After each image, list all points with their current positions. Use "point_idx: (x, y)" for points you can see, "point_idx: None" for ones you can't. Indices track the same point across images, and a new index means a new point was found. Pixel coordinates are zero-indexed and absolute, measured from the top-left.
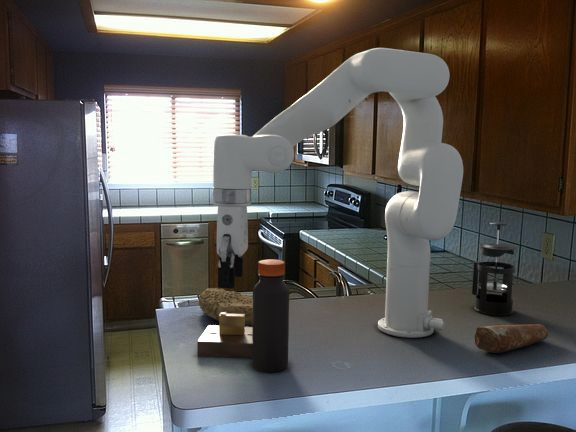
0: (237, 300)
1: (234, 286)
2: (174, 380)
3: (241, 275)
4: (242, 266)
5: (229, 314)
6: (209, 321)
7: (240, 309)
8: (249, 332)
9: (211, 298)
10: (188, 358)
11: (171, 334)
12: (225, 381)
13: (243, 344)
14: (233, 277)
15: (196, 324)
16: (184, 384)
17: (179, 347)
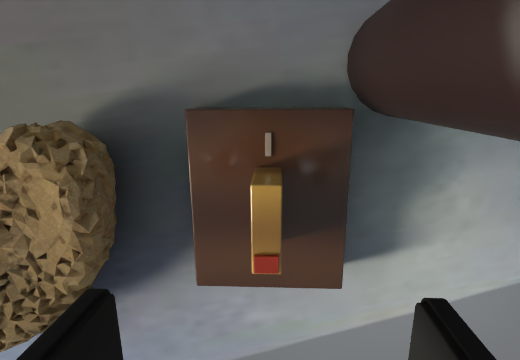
0: (6, 241)
1: (432, 299)
2: (488, 284)
3: (107, 294)
4: (55, 336)
5: (264, 241)
6: None
7: (86, 214)
8: (245, 152)
9: (9, 329)
10: (351, 282)
11: (191, 352)
12: (502, 169)
13: (350, 156)
14: (488, 357)
15: None
16: (513, 259)
17: (279, 316)
